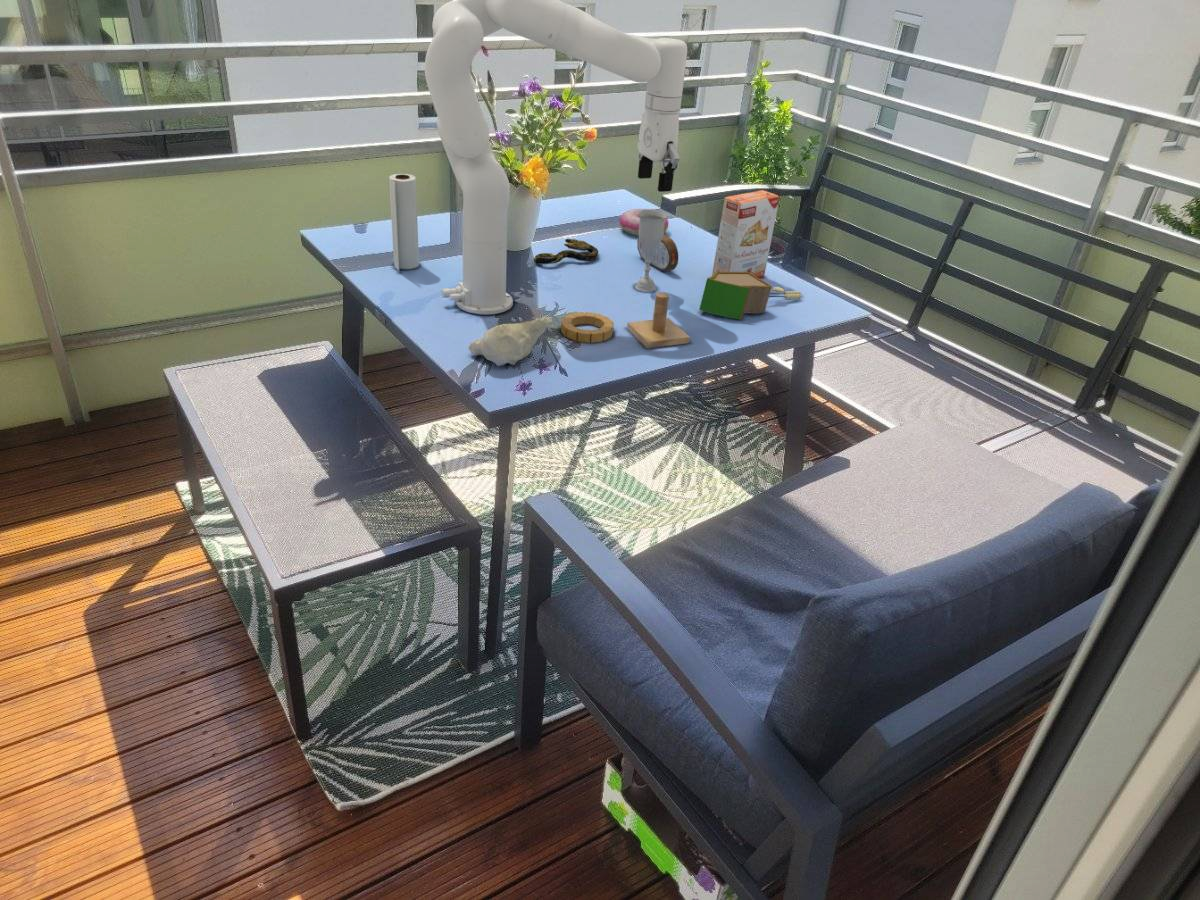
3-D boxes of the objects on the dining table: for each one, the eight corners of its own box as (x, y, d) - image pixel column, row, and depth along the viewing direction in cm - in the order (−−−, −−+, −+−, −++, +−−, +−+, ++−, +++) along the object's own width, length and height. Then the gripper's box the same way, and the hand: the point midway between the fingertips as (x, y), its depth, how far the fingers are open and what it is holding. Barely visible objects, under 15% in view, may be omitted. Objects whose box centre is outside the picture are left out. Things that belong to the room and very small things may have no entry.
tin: (677, 274, 226) (681, 242, 222) (667, 276, 225) (671, 243, 220) (643, 254, 237) (646, 222, 232) (633, 256, 235) (636, 224, 231)
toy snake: (538, 248, 220) (526, 237, 228) (537, 266, 222) (525, 255, 231) (607, 246, 227) (592, 236, 235) (605, 264, 229) (591, 253, 237)
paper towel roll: (409, 259, 222) (405, 171, 211) (424, 266, 219) (421, 177, 207) (384, 265, 218) (379, 175, 206) (399, 273, 214) (394, 182, 203)
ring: (572, 345, 188) (573, 336, 187) (553, 323, 197) (554, 314, 196) (620, 339, 192) (621, 330, 191) (600, 318, 201) (601, 309, 200)
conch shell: (467, 381, 176) (525, 349, 169) (453, 346, 177) (510, 313, 169) (512, 375, 189) (567, 345, 182) (498, 343, 190) (553, 312, 182)
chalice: (657, 295, 214) (665, 221, 204) (628, 291, 215) (635, 217, 205) (661, 284, 220) (669, 211, 210) (633, 280, 221) (641, 207, 211)
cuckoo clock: (783, 300, 225) (685, 301, 210) (791, 270, 222) (692, 269, 207) (814, 318, 217) (715, 320, 201) (824, 287, 213) (723, 286, 198)
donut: (618, 237, 246) (619, 219, 244) (619, 221, 257) (620, 204, 255) (667, 241, 246) (669, 223, 244) (666, 225, 258) (668, 208, 255)
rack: (646, 348, 190) (651, 306, 184) (626, 328, 197) (630, 287, 192) (688, 343, 193) (694, 301, 188) (667, 323, 201) (672, 283, 196)
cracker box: (728, 288, 221) (741, 203, 210) (710, 279, 225) (722, 196, 214) (766, 277, 229) (781, 195, 218) (748, 269, 233) (762, 188, 222)
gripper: (629, 94, 196) (622, 174, 205) (666, 113, 182) (657, 197, 192) (660, 93, 198) (651, 172, 208) (698, 112, 185) (688, 195, 194)
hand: (654, 184), depth 200 cm, fingers open, 9 cm apart
